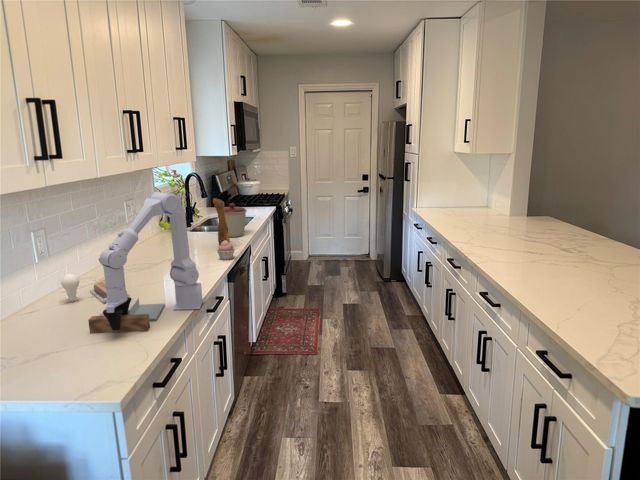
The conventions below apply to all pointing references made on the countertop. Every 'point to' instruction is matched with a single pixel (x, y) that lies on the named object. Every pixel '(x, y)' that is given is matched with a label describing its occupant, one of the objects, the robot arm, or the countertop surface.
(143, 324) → the walnut batten
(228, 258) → the cupcake
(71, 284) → the lightbulb
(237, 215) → the canister
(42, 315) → the countertop surface
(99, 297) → the packaged product
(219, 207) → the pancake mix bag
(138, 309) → the ridge board
